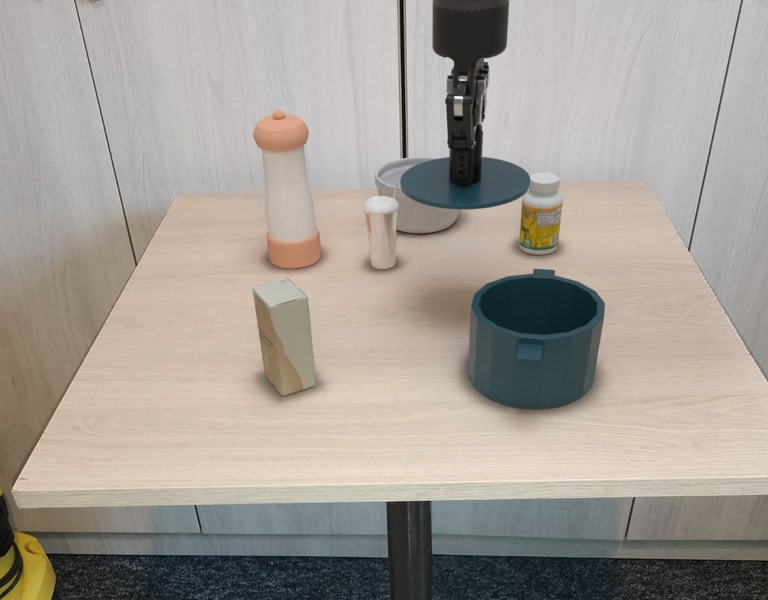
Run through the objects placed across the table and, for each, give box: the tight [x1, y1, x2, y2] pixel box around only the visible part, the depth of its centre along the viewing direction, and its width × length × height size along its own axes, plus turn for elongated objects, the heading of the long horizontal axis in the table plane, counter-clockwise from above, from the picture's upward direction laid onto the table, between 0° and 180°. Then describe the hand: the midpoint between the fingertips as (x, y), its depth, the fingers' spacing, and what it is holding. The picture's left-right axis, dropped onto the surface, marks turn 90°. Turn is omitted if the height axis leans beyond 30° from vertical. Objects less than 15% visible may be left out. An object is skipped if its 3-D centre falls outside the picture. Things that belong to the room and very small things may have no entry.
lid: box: [400, 128, 531, 210], centre depth 90 cm, size 15×15×6 cm
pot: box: [467, 268, 606, 410], centre depth 87 cm, size 14×19×8 cm
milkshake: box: [363, 184, 399, 270], centre depth 108 cm, size 4×5×10 cm
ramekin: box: [374, 156, 461, 234], centre depth 119 cm, size 13×13×7 cm
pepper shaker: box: [252, 109, 322, 269], centre depth 107 cm, size 7×7×19 cm
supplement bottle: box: [518, 171, 564, 256], centre depth 110 cm, size 5×5×10 cm
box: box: [252, 277, 317, 397], centre depth 87 cm, size 5×4×11 cm
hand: (465, 175), depth 91 cm, fingers closed on lid, 3 cm apart
